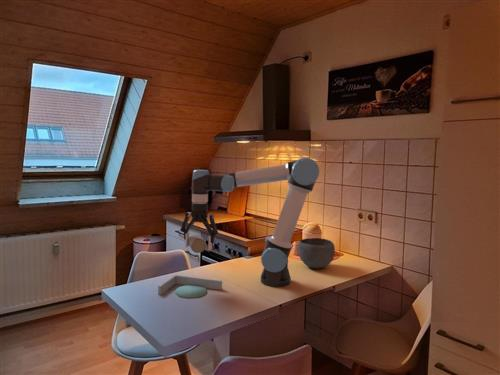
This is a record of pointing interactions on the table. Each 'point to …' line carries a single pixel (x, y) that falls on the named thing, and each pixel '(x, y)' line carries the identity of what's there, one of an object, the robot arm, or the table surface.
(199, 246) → the ceramic mug
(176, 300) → the table surface
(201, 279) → the divider wall
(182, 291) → the mat
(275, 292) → the table surface
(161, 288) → the end wall
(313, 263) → the bowl
